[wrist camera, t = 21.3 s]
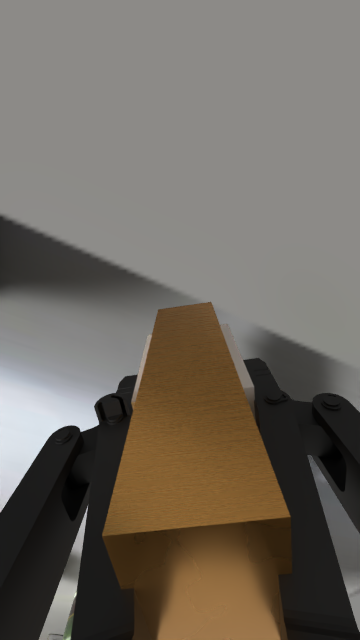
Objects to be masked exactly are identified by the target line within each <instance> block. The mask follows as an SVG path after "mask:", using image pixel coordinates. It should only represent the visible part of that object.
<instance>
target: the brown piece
mask: <svg viewBox="0 0 360 640" xmlns="http://www.w3.org/2000/svg"><path fill="white" fill-rule="evenodd" d="M102 537H103V540H104V543H105V546H106V549H107V551H108V554H109V557H110V560H111V562H112V565H113V568H114V571H115V573H116V576H117V579H118V582H119V584H120V587H121V589H130V588H134V590H135V593H136V596H137V599H138V602H139V604H140V607H141V610H142V613H143V616H144V619H145V622H146V625H147V628H148V630H149V633H150V636H151V639H152V640H281V629H280V605H279V580H278V575H280V574H291V573H292V549H291V516H290V514H289V511H288V508H287V506H286V503H285V500H284V497H283V495H282V492H281V489H280V487H279V484H278V481H277V479H276V476H275V473H274V470H273V468H272V465H271V462H270V460H269V457H268V454H267V452H266V449H265V446H264V443H263V441H262V438H261V435H260V433H259V430H258V427H257V425H256V422H255V419H254V416H253V414H252V411H251V408H250V406H249V403H248V400H247V398H246V395H245V392H244V389H243V387H242V384H241V381H240V379H239V376H238V373H237V371H236V368H235V365H234V362H233V360H232V357H231V354H230V352H229V349H228V346H227V343H226V341H225V338H224V335H223V333H222V330H221V327H220V325H219V322H218V319H217V316H216V314H215V311H214V308H213V306H212V303H211V302H208V303H201V304H194V305H187V306H180V307H173V308H166V309H159V310H158V313H157V317H156V321H155V325H154V329H153V333H152V337H151V341H150V345H149V349H148V353H147V357H146V361H145V365H144V369H143V373H142V377H141V381H140V385H139V389H138V393H137V397H136V402H135V406H134V410H133V414H132V418H131V422H130V426H129V430H128V434H127V438H126V442H125V446H124V450H123V454H122V458H121V462H120V466H119V470H118V474H117V478H116V482H115V486H114V490H113V494H112V498H111V502H110V506H109V510H108V514H107V518H106V522H105V526H104V530H103V534H102Z"/></svg>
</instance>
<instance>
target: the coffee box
mask: <svg viewBox="0 0 360 640" xmlns="http://www.w3.org/2000/svg"><path fill="white" fill-rule="evenodd" d="M62 639H63V636H62V635H54V634H49V636H48V639H47V640H62Z"/></svg>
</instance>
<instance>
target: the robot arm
mask: <svg viewBox="0 0 360 640" xmlns="http://www.w3.org/2000/svg"><path fill="white" fill-rule="evenodd" d="M220 327H221V330H222V333H223V335H224V338H225V341H226V343H227V346H228V349H229V352H230V354H231V357H232V360H233V362H234V365H235V368H236V371H237V373H238V376H239V379H240V381H241V384H242V387H243V389H244V392H245V395H246V398H247V400H248V403H249V406H250V408H251V411H252V414H253V416H254V419H255V422H256V425H257V427H258V430H259V433H260V435H261V438H262V441H263V443H264V446H265V449H266V452H267V454H268V457H269V460H270V462H271V465H272V468H273V470H274V473H275V476H276V479H277V481H278V484H279V487H280V489H281V492H282V495H283V497H284V500H285V503H286V506H287V508H288V511H289V514H290V516H291V549H292V573H291V574H280V575H278V580H279V605H280V629H281V640H360V632H359V630H358V628H357V624H356V621H355V618H354V615H353V611H352V608H351V604H350V601H349V598H348V594H347V591H346V587H345V584H344V580H343V577H342V574H341V570H340V567H339V563H338V560H337V556H336V553H335V549H334V546H333V543H332V539H331V536H330V532H329V529H328V525H327V522H326V519H325V515H324V512H323V508H322V505H321V501H320V498H319V494H318V491H317V488H316V484H315V481H314V477H313V474H312V470H311V467H310V464H309V460H308V457H307V455H312V457H313V459H314V460H315V462H316V464H317V465H318V467H319V469H320V470H321V472H322V473H323V475H324V477H325V478H326V480H327V481H328V483H329V485H330V486H331V488H332V490H333V491H334V493H335V494H336V496H337V498H338V499H339V501H340V503H341V504H342V506H343V507H344V509H345V511H346V512H347V514H348V515H349V517H350V519H351V520H352V522H353V524H354V525H355V527H356V528H357V530H358V532H359V533H360V412H359V411H358V410H357V409H356V408H355V407H354V406H353V405H352V404H351V403H350V402H349V401H348V400H346V399H345V398H343V397H341V396H339V395H336V394H331V393H322V394H319V395H316V396H315V397H314V398H313V402H312V403H310V402H300V401H295V400H292V399H291V398H290V397H289V395H288V394H286V393H285V392H283V391H281V390H280V388H279V387H278V385H277V383H276V381H275V379H274V378H273V376H272V374H271V372H270V370H269V369H268V367H267V365H266V363H265V362H263V361H262V360H260V359H259V358H256V359H248V360H243V359H242V357H241V354H240V352H239V350H238V347H237V345H236V343H235V340H234V338H233V335H232V333H231V331H230V328H229V326H228V324H223V325H220ZM151 337H152V335H148V336H147V340H146V344H145V348H144V352H143V356H142V360H141V365H140V369H139V373H138V375H132V376H125V377H124V378H123V380H122V381H121V382H120V383H119V386H118V390H117V392H116V393H112V394H109V395H106V396H104V397H102V398H100V399H99V400H98V401H97V402H96V404H95V406H94V408H95V411H96V414H97V417H98V420H99V425H98V426H96V427H94V428H91V429H88V430H86V431H83V432H80V429H79V428H78V427H77V426H66V427H63V428H61V429H58V430H57V431H56V432H54V433H53V434H52V435H51V436H50V437H49V438H48V440H47V441H46V443H45V444H44V446H43V448H42V449H41V451H40V452H39V454H38V455H37V457H36V458H35V460H34V462H33V463H32V465H31V466H30V468H29V469H28V471H27V472H26V474H25V476H24V477H23V479H22V480H21V482H20V483H19V485H18V486H17V488H16V490H15V491H14V493H13V494H12V496H11V497H10V499H9V500H8V502H7V504H6V505H5V507H4V508H3V510H2V511H1V513H0V640H39V637H40V634H41V631H42V629H43V626H44V623H45V621H46V618H47V615H48V612H49V610H50V607H51V604H52V601H53V599H54V596H55V593H56V591H57V588H58V585H59V582H60V580H61V577H62V574H63V572H64V569H65V566H66V563H67V561H68V558H69V555H70V553H71V550H72V547H73V544H74V542H75V539H76V536H77V533H78V531H79V528H80V525H81V523H82V520H83V517H84V514H85V512H86V509H87V506H88V511H87V519H86V526H85V534H84V541H83V549H82V556H81V564H80V571H79V579H78V586H77V594H76V602H75V609H74V617H73V624H72V632H71V639H70V640H152V639H151V636H150V633H149V630H148V628H147V625H146V622H145V619H144V616H143V613H142V610H141V607H140V604H139V602H138V599H137V596H136V593H135V590H134V588H130V589H121V587H120V584H119V582H118V579H117V576H116V573H115V571H114V568H113V565H112V562H111V560H110V557H109V554H108V551H107V549H106V546H105V543H104V540H103V537H102V534H103V530H104V526H105V522H106V518H107V514H108V510H109V506H110V502H111V498H112V494H113V490H114V486H115V482H116V478H117V474H118V470H119V466H120V462H121V458H122V454H123V450H124V446H125V442H126V438H127V434H128V430H129V426H130V422H131V418H132V414H133V410H134V406H135V402H136V397H137V393H138V389H139V385H140V381H141V377H142V373H143V369H144V365H145V361H146V357H147V353H148V349H149V345H150V341H151Z"/></svg>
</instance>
